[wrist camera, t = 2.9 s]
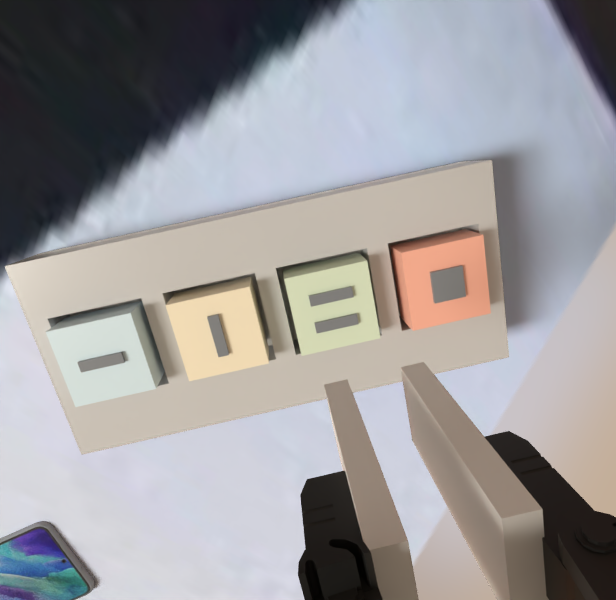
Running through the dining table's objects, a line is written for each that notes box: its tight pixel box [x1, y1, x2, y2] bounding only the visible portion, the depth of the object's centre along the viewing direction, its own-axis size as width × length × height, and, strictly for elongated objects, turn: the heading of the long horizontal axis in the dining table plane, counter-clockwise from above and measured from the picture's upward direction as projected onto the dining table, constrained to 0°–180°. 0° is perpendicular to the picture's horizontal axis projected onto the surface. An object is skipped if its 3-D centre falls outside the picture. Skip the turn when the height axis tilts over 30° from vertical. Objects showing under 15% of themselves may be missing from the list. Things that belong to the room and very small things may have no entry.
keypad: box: [5, 160, 509, 454], centre depth 28 cm, size 27×12×4 cm, turn 102°
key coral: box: [390, 229, 491, 331], centre depth 27 cm, size 5×5×3 cm
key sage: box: [283, 253, 380, 356], centre depth 26 cm, size 5×5×3 cm
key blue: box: [46, 301, 165, 407], centre depth 26 cm, size 5×5×3 cm
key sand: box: [165, 277, 269, 381], centre depth 26 cm, size 5×5×3 cm
